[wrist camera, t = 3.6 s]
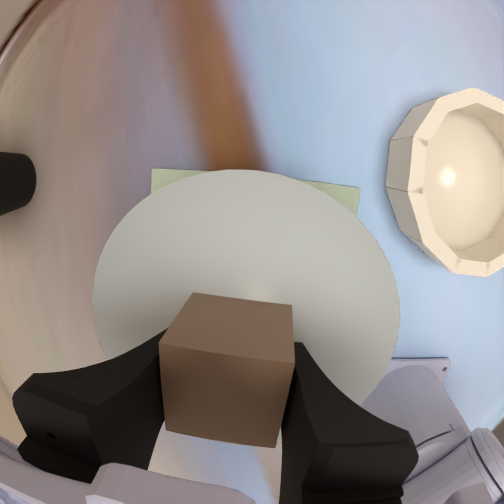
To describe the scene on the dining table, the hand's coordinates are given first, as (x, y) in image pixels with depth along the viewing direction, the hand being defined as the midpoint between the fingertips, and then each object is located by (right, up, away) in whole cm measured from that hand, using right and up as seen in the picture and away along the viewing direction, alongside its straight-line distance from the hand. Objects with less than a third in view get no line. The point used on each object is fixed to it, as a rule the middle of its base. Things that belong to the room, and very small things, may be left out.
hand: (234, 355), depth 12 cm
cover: (0, +1, +2) cm, 2 cm away
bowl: (+16, +9, +7) cm, 20 cm away
